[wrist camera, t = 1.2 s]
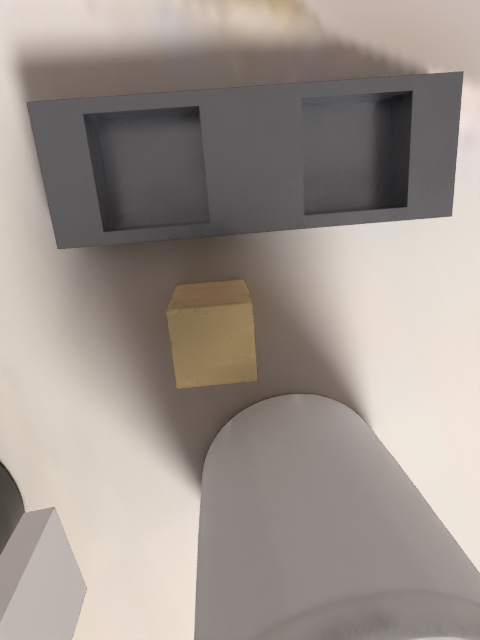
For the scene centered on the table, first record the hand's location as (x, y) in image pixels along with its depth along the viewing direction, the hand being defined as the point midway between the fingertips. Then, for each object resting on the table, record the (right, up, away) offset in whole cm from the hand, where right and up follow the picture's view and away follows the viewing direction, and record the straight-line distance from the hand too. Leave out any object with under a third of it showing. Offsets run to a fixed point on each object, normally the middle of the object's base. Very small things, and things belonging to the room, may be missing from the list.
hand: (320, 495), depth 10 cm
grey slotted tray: (-2, +14, +14) cm, 19 cm away
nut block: (-4, +5, +16) cm, 18 cm away
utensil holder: (+2, -7, +21) cm, 22 cm away
